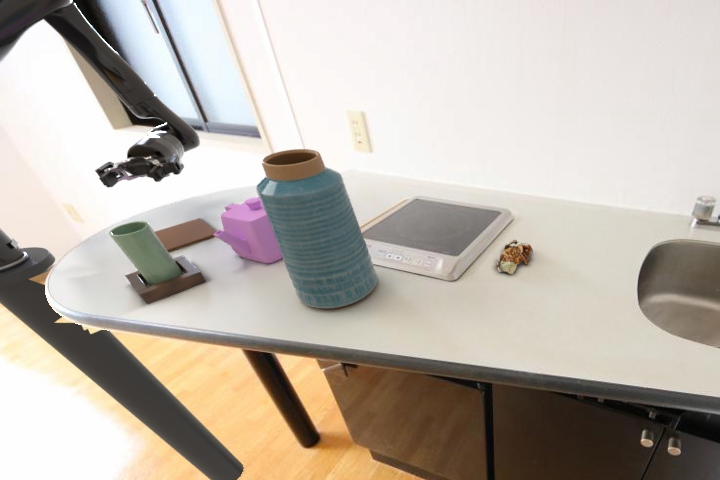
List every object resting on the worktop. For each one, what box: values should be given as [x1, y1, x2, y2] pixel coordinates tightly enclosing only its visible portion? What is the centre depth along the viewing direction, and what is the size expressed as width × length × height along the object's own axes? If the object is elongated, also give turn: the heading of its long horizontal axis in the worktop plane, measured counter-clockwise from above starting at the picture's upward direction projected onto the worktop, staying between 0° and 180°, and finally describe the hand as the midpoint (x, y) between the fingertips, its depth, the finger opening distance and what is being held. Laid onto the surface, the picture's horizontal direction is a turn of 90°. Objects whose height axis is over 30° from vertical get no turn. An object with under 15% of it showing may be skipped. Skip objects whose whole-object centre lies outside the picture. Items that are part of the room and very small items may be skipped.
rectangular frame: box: [124, 255, 207, 305], centre depth 79 cm, size 11×11×2 cm
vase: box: [255, 148, 378, 309], centre depth 69 cm, size 16×16×27 cm
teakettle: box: [213, 196, 283, 265], centre depth 87 cm, size 17×17×12 cm
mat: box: [154, 217, 218, 253], centre depth 96 cm, size 14×14×1 cm
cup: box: [108, 221, 185, 287], centre depth 75 cm, size 6×6×13 cm
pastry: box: [496, 239, 534, 275], centre depth 85 cm, size 7×12×4 cm, turn 162°
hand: (130, 179), depth 75 cm, fingers open, 8 cm apart
